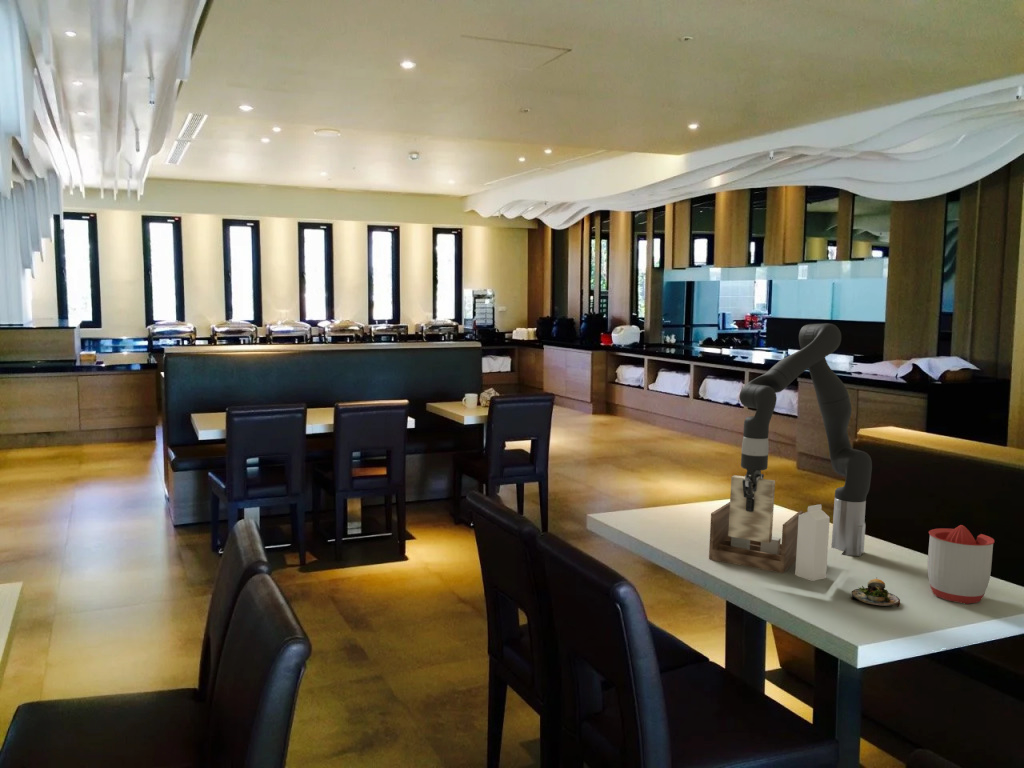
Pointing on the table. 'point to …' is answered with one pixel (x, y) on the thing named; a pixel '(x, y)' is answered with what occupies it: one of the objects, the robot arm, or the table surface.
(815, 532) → the milk
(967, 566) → the citrus juicer
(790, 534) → the rack
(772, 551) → the offcut
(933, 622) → the table surface
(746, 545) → the offcut
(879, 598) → the burger
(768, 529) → the beige patterned book
